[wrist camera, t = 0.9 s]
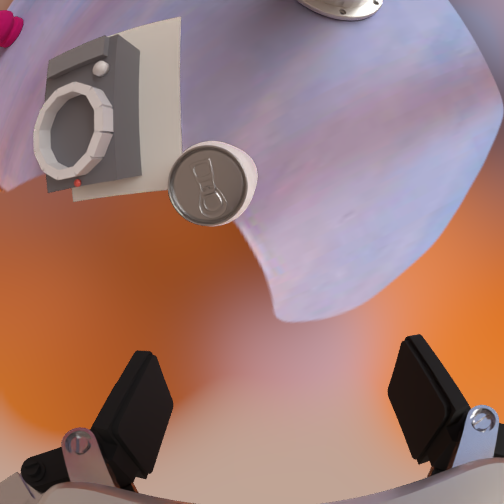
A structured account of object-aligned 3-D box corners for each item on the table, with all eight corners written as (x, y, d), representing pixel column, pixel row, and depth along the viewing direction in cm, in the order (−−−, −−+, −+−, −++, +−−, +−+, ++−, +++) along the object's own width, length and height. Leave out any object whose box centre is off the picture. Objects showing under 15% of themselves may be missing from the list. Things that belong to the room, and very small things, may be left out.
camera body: (75, 72, 25) (38, 60, 18) (140, 50, 25) (109, 27, 17) (76, 186, 30) (36, 195, 23) (142, 175, 30) (106, 182, 22)
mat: (74, 51, 24) (72, 50, 24) (181, 17, 23) (180, 16, 23) (74, 201, 31) (73, 201, 31) (184, 188, 30) (183, 188, 30)
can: (208, 211, 31) (178, 242, 20) (192, 157, 29) (150, 157, 18) (264, 196, 30) (265, 218, 19) (248, 140, 28) (239, 126, 17)
